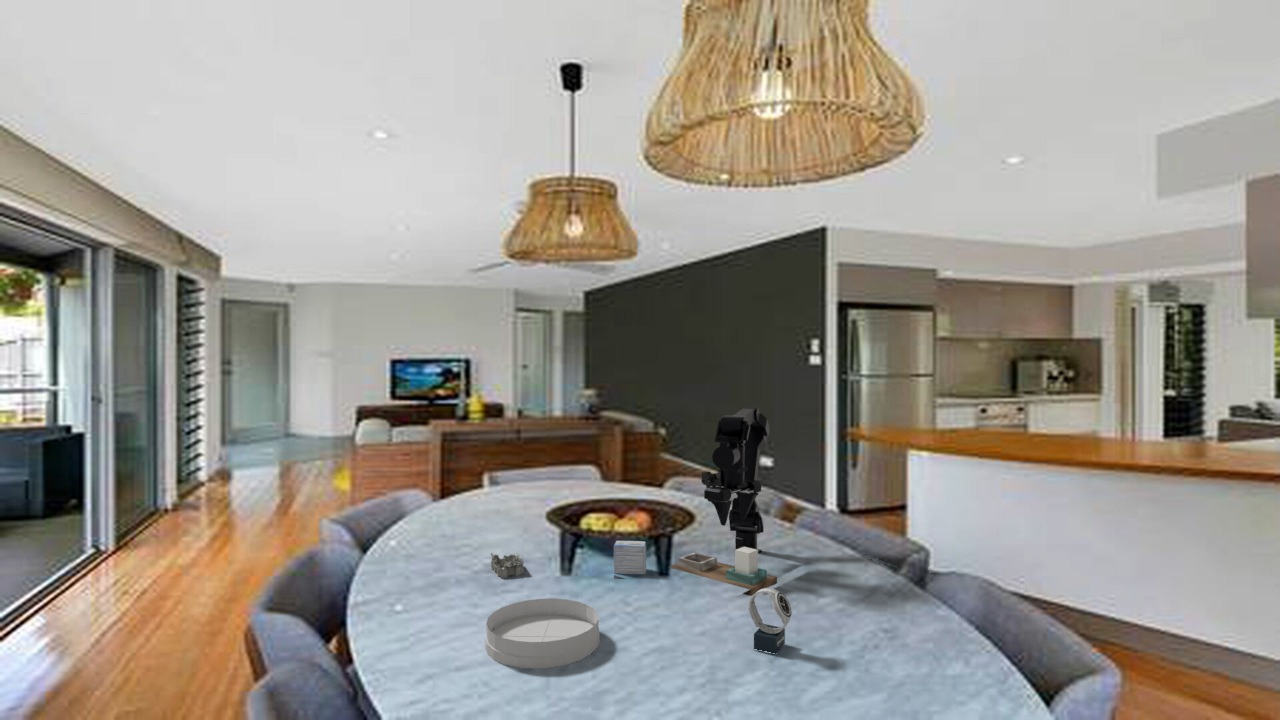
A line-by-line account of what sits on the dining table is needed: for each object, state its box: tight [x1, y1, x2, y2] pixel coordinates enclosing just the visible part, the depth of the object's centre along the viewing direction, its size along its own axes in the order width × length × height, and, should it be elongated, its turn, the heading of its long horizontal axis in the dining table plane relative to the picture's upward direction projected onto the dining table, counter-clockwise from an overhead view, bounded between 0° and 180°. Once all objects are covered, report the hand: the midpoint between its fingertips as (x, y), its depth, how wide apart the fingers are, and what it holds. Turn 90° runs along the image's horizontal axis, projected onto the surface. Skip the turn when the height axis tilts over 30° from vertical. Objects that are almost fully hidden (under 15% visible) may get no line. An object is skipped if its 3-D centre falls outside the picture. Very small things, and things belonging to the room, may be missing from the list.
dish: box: [484, 598, 600, 670], centre depth 131 cm, size 22×22×5 cm
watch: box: [748, 587, 793, 655], centre depth 129 cm, size 6×8×11 cm
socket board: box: [669, 552, 778, 597], centre depth 170 cm, size 12×25×4 cm, turn 48°
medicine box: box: [613, 540, 647, 580], centre depth 170 cm, size 8×4×9 cm, turn 84°
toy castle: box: [490, 552, 525, 578], centre depth 175 cm, size 11×8×4 cm
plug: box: [734, 547, 759, 575], centre depth 165 cm, size 4×4×7 cm
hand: (733, 522), depth 178 cm, fingers open, 9 cm apart
